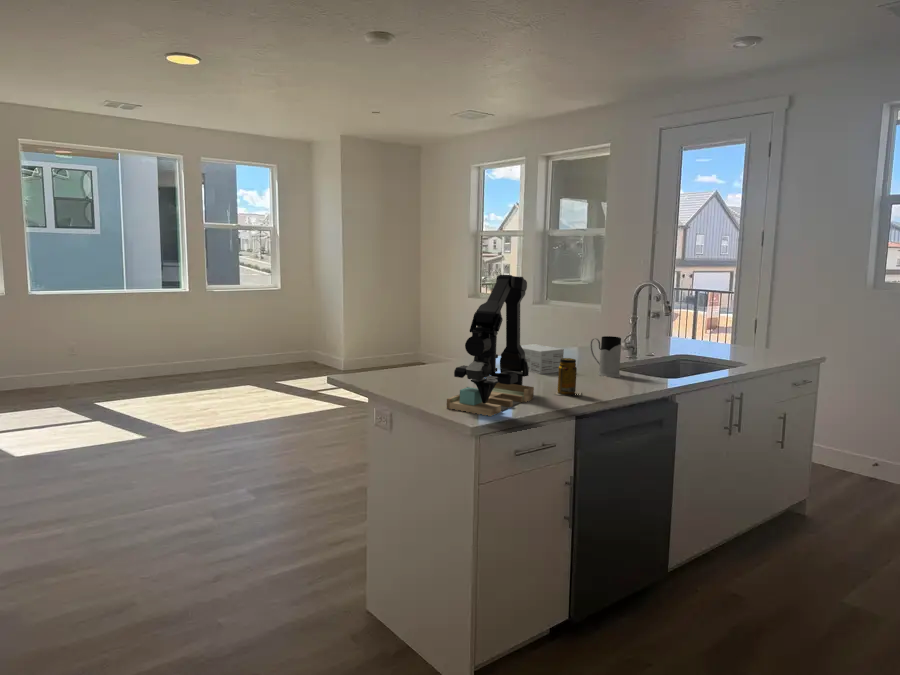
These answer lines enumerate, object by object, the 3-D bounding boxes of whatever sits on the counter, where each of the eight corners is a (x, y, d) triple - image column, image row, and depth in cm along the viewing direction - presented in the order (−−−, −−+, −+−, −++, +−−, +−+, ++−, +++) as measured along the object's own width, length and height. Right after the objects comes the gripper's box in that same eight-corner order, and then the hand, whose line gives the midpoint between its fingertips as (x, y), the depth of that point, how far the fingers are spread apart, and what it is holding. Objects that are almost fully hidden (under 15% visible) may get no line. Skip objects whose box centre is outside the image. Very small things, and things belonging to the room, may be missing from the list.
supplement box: (563, 371, 259) (564, 348, 257) (540, 374, 251) (541, 351, 250) (534, 365, 272) (535, 343, 271) (511, 367, 264) (512, 345, 263)
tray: (489, 392, 217) (490, 380, 216) (533, 399, 208) (533, 387, 208) (446, 408, 193) (446, 395, 192) (493, 416, 185) (494, 403, 184)
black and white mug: (611, 378, 248) (613, 339, 246) (582, 371, 259) (584, 335, 257) (624, 375, 253) (627, 338, 251) (596, 369, 264) (598, 333, 262)
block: (467, 399, 196) (468, 387, 196) (482, 402, 194) (482, 389, 193) (459, 402, 192) (459, 389, 191) (474, 405, 189) (474, 392, 189)
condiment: (557, 390, 223) (559, 356, 221) (582, 393, 220) (584, 358, 218) (554, 395, 216) (556, 360, 214) (580, 397, 213) (582, 362, 212)
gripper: (445, 351, 186) (443, 403, 188) (502, 358, 177) (500, 413, 179) (464, 347, 196) (462, 396, 198) (519, 353, 186) (517, 405, 188)
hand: (484, 403), depth 190 cm, fingers closed
